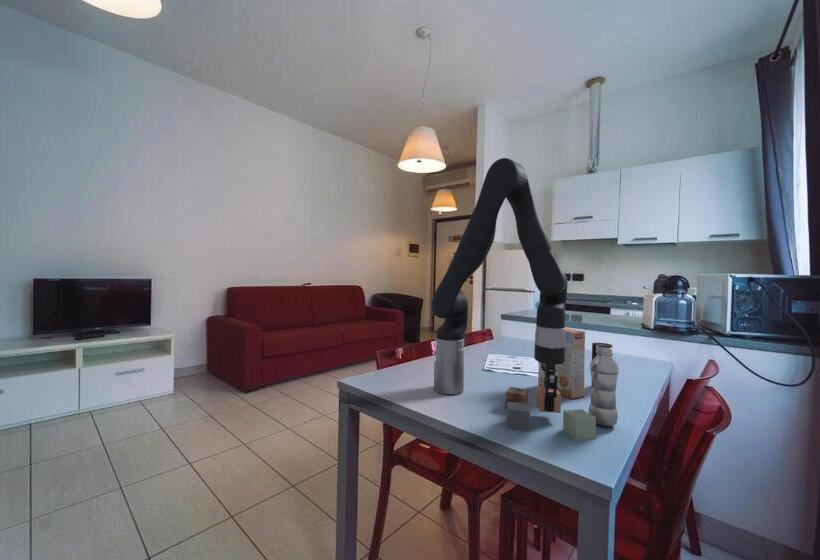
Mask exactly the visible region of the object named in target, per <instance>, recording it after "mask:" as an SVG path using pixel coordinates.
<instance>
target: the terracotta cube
mask: <svg viewBox="0 0 820 560" xmlns="http://www.w3.org/2000/svg"><path fill="white" fill-rule="evenodd" d="M548 392H553V389H548ZM544 393H545V388H544V387H543V386H539V385H536V386H535V406H536V408H537V409H538V410H539V411H540V412H542V413H550V412H549V411H545V408H544V407H545V395H544ZM561 407H562V395H561V393H560V392H559V391H558V390H557V396H556V398H554V411H553V412H551V413H553V414H554V413H556V414H561V412H562V411H561V410H562V408H561ZM540 412H539V413H540Z"/></svg>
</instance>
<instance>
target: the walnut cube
mask: <svg viewBox="0 0 820 560" xmlns="http://www.w3.org/2000/svg"><path fill="white" fill-rule="evenodd" d="M507 402H514V403H525V404H527V405H528V403H529V389H526V388H525V389H524V388H520V387H514V386H509V388H507V390H506V391H505V410H507ZM528 406H529V405H528Z"/></svg>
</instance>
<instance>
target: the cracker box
mask: <svg viewBox="0 0 820 560" xmlns="http://www.w3.org/2000/svg"><path fill="white" fill-rule="evenodd" d="M565 336H566V341H565V362H564V363H563V364H557V365H555V368H556V370H558V376H557V377H558V379H557V390H558V391H559V392H560V393H561V396H563V397H565V398H567V399H569V400H570V399H571V400H572V399H579V398H584V396H585V353H586V350H585V349H586V347H585V345H586V342H585V341H586V331H583V330H582V331H581V330H577V329H571V328H566V327H565ZM540 366H542V365H541V362H538V380H537V381H538V382H537V386H541V385H542V383H541V371H540Z"/></svg>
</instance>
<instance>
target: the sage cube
mask: <svg viewBox="0 0 820 560" xmlns="http://www.w3.org/2000/svg"><path fill="white" fill-rule="evenodd" d="M562 413H563V415H562V417H563V418H562V419H563V421H562V430H563V431H564V432H565V433H566V434H567V435H569V436H570V437H572V439H574V441H583V440H596V438H597V437H596V435H597V424H596V418H595V417H594V416H592V415H590V414H589V412H587V411H586V410H584V409H582V408H581V409H579V408H578V409H564V410H563V412H562Z"/></svg>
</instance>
